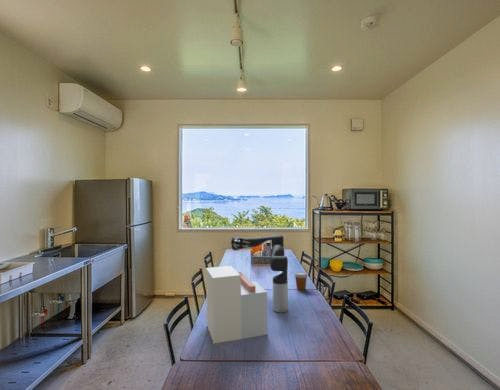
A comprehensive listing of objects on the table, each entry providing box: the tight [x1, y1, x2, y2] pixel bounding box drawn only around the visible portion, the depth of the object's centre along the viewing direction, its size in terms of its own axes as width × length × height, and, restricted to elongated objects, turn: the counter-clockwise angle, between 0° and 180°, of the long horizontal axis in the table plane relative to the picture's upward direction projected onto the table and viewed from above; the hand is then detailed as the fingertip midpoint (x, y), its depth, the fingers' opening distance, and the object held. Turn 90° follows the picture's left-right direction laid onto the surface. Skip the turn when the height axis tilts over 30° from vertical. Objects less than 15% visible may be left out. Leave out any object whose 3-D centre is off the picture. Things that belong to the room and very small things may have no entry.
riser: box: [205, 265, 269, 345], centre depth 155 cm, size 20×28×32 cm
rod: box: [237, 271, 256, 292], centre depth 163 cm, size 28×3×3 cm, turn 18°
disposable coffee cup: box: [294, 271, 308, 291], centre depth 219 cm, size 10×10×12 cm
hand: (243, 243), depth 188 cm, fingers open, 8 cm apart
